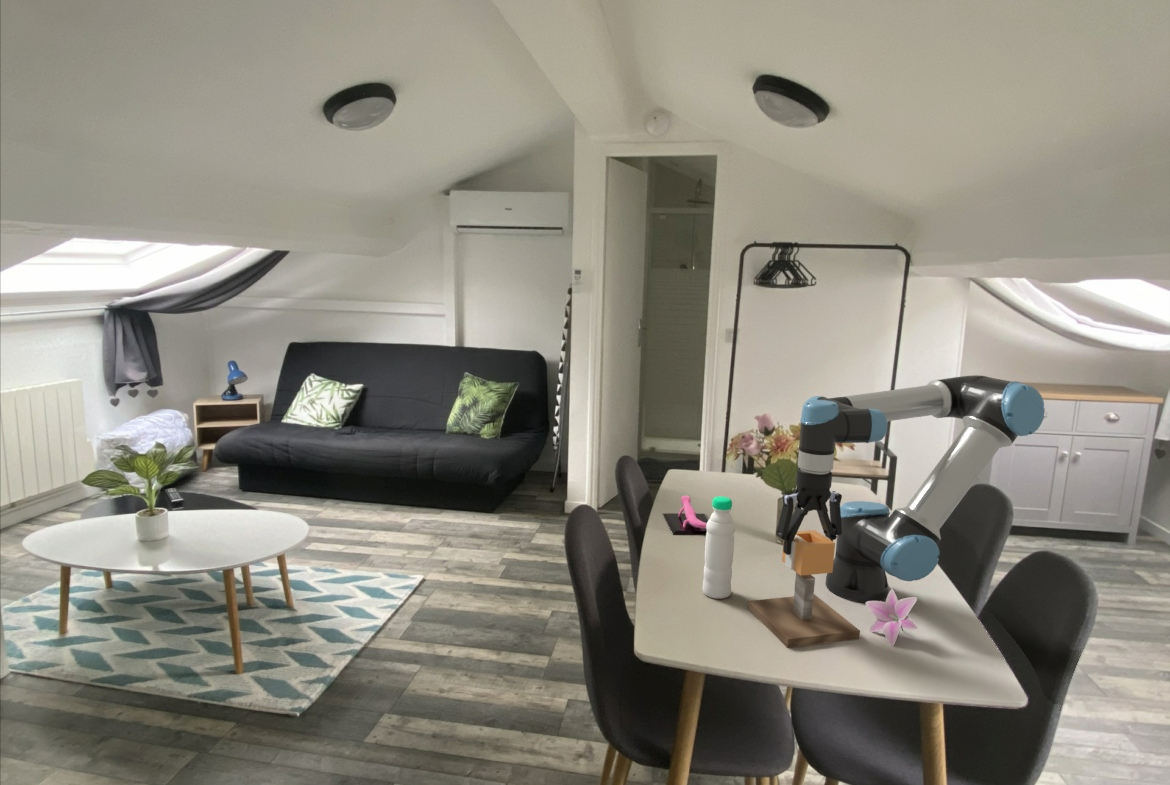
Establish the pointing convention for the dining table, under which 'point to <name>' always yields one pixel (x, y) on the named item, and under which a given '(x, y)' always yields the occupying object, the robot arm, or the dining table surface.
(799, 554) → the orange slotted box
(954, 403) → the robot arm
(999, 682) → the dining table surface
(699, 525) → the lizard figurine
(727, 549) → the water bottle
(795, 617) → the board
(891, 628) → the lily
